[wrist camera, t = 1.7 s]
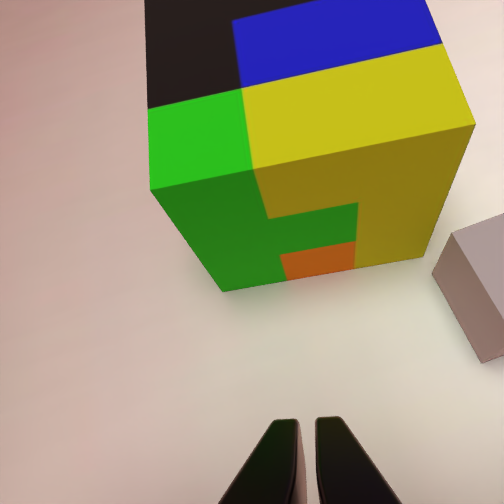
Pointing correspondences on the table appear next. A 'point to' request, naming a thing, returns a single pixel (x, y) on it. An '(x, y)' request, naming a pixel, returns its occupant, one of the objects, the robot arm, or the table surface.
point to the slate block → (476, 284)
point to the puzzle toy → (301, 132)
